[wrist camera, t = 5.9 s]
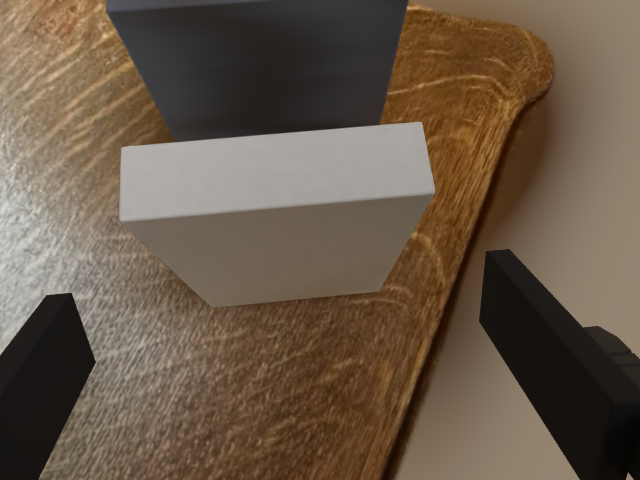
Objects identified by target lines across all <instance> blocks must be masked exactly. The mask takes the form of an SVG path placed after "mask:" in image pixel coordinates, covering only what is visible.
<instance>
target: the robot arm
mask: <svg viewBox="0 0 640 480" xmlns="http://www.w3.org/2000/svg"><path fill="white" fill-rule="evenodd" d="M479 322H480V323H481V325H482V327H483V328H484V330H485V331H486V333H487V334H488V336H489V337H490V339H491V341H492V342H493V344H494V345H495V347H496V348H497V350H498V352H499V353H500V355H501V356H502V358H503V360H504V361H505V363H506V364H507V366H508V367H509V369H510V370H511V372H512V374H513V375H514V377H515V378H516V380H517V381H518V383H519V385H520V386H521V388H522V389H523V391H524V392H525V394H526V396H527V397H528V399H529V400H530V402H531V403H532V405H533V407H534V408H535V410H536V411H537V413H538V415H539V416H540V417H541V419H542V421H543V422H544V424H545V425H546V427H547V428H548V430H549V432H550V433H551V435H552V436H553V438H554V440H555V441H556V443H557V444H558V446H559V447H560V449H561V451H562V452H563V454H564V455H565V457H566V458H567V460H568V461H569V463H570V465H571V466H572V468H573V469H574V471H575V472H576V474H577V476H578V477H579V479H580V480H626V477H627V474H628V472H629V474H630V475H631V476H632V478H633V479H634V480H640V359H639V358H638V357H637V356H636V355H635V354H634V353H631V350H630V349H629V348H628V347H627V346H626V345H625V344H624V343H623V342H622V341H621V340H620V339H619V338H618V337H617V336H615V335H613V334H611V333H609V332H608V331H606V330H604V329H602V328H601V327H599V326H593V327H584V328H583V327H582V326H581V325H580V324H579V323H578V322H577V321H576V320H575V319H574V318H573V316H572V315H571V314H570V313H569V312H568V311H567V310H566V309H565V308H564V307H563V306H562V305H561V304H560V303H559V302H558V301H557V299H556V298H555V297H553V295H552V294H551V293H550V292H549V291H548V290H547V289H546V288H545V287H544V286H543V285H542V283H541V282H539V280H538V279H537V278H536V277H535V276H534V275H533V274H532V273H531V272H530V271H529V270H528V269H527V268H526V266H525V265H524V264H523V263H522V262H521V261H520V260H519V259H518V258H517V257H516V256H515V255H514V254H513V253H512V252H511V250H510V249H505V250H495V251H486V256H485V267H484V277H483V287H482V298H481V309H480V318H479ZM95 363H96V361H95V359H94V356H93V353H92V350H91V347H90V344H89V341H88V338H87V336H86V333H85V330H84V327H83V324H82V321H81V318H80V315H79V313H78V310H77V307H76V304H75V301H74V298H73V295H72V293H65V294H55V295H46V297H45V298H44V299H43V300H42V302H41V303H40V304H39V306H38V307H37V308H36V310H35V311H34V312H33V313H32V315H31V316H30V317H29V319H28V320H27V321H26V323H25V324H24V325H23V326H22V328H21V329H20V330H19V332H18V333H17V334H16V336H15V337H14V338H13V339H12V341H11V342H10V343H9V345H8V346H7V347H6V349H5V350H4V351H3V353H2V354H1V355H0V480H38V479H39V477H40V475H41V473H42V471H43V469H44V467H45V465H46V463H47V461H48V459H49V457H50V454H51V452H52V450H53V448H54V446H55V444H56V442H57V440H58V438H59V436H60V434H61V432H62V430H63V428H64V426H65V424H66V422H67V420H68V418H69V416H70V414H71V412H72V410H73V408H74V406H75V404H76V401H77V399H78V397H79V395H80V393H81V391H82V389H83V387H84V385H85V383H86V381H87V379H88V377H89V375H90V373H91V371H92V369H93V367H94V365H95Z"/></svg>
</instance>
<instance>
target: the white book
mask: <svg viewBox="0 0 640 480" xmlns="http://www.w3.org/2000/svg"><path fill="white" fill-rule="evenodd" d="M434 194H435V187H434V182H433V177H432V172H431V167H430V161H429V156H428V151H427V146H426V141H425V135H424V130H423V125H422V123H421V122H411V123H399V124H387V125H375V126H363V127H351V128H340V129H328V130H316V131H304V132H292V133H280V134H268V135H256V136H244V137H232V138H220V139H209V140H197V141H185V142H173V143H161V144H149V145H137V146H125V147H122V148H121V166H120V198H119V221H120V223H121V224H122V225H124V226H125V227H126V228H127V229H128V230H129V231H130V232H131V233H132V234H133V235H134V236H135V237H136V238H137V239H139V240H140V241H141V242H142V243H143V244H144V245H145V246H146V247H147V248H148V249H149V250H150V251H151V252H153V253H154V254H155V255H156V256H157V257H158V258H159V259H160V260H161V261H162V262H163V263H164V264H165V265H167V266H168V267H169V268H170V269H171V270H172V271H173V272H174V273H175V274H176V275H177V276H178V277H179V278H180V279H182V280H183V281H184V282H185V283H186V284H187V285H188V286H189V287H190V288H191V289H192V290H193V291H194V292H196V293H197V294H198V295H199V296H200V297H201V298H202V299H203V300H204V301H205V302H206V303H207V304H208V305H210V306H211V307H212V308H217V307H227V306H238V305H248V304H258V303H268V302H278V301H289V300H299V299H309V298H319V297H329V296H339V295H350V294H360V293H370V292H378V291H379V290H380V289H381V287H382V285H383V283H384V282H385V280H386V278H387V276H388V275H389V273H390V271H391V269H392V268H393V266H394V264H395V262H396V261H397V259H398V257H399V255H400V254H401V252H402V250H403V248H404V247H405V245H406V243H407V241H408V240H409V238H410V236H411V234H412V233H413V231H414V229H415V227H416V226H417V224H418V222H419V220H420V218H421V217H422V215H423V213H424V211H425V210H426V208H427V206H428V204H429V203H430V201H431V199H432V197H433V196H434Z"/></svg>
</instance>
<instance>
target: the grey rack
mask: <svg viewBox="0 0 640 480" xmlns="http://www.w3.org/2000/svg"><path fill="white" fill-rule="evenodd" d="M408 1H409V0H107V4H106V12H107V14H108V16H109V18H110V19H111V21H112V23H113V25H114V27H115V29H116V31H117V33H118V34H119V36H120V38H121V40H122V42H123V44H124V46H125V48H126V49H127V51H128V53H129V55H130V57H131V59H132V61H133V63H134V65H135V66H136V68H137V70H138V72H139V74H140V76H141V78H142V80H143V81H144V83H145V85H146V87H147V89H148V91H149V93H150V95H151V96H152V98H153V100H154V102H155V104H156V106H157V108H158V110H159V111H160V113H161V115H162V117H163V119H164V121H165V123H166V125H167V127H168V128H169V130H170V132H171V134H172V136H173V138H174V140H175V142H185V141H197V140H209V139H220V138H232V137H244V136H256V135H268V134H280V133H292V132H304V131H316V130H328V129H340V128H351V127H363V126H375V125H380V121H381V117H382V113H383V108H384V104H385V100H386V95H387V91H388V87H389V82H390V78H391V74H392V70H393V65H394V61H395V57H396V52H397V48H398V44H399V39H400V35H401V31H402V26H403V22H404V18H405V14H406V9H407V5H408Z"/></svg>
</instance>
